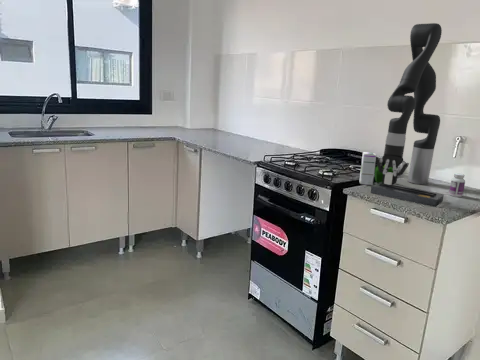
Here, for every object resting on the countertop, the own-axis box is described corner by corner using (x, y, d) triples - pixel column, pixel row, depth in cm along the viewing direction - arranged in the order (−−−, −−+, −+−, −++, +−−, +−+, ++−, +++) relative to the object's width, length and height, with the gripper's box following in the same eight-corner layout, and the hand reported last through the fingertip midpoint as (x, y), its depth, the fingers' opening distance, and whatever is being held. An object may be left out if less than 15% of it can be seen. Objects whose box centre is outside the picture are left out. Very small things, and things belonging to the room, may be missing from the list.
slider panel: (380, 187, 177) (381, 180, 176) (442, 201, 162) (444, 192, 161) (370, 192, 168) (371, 184, 167) (435, 207, 152) (437, 198, 152)
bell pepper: (369, 181, 189) (372, 160, 187) (382, 180, 193) (385, 160, 190) (381, 185, 182) (385, 164, 179) (395, 184, 185) (398, 163, 183)
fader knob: (386, 184, 171) (388, 172, 170) (393, 185, 169) (395, 173, 168) (383, 185, 168) (385, 173, 167) (390, 187, 166) (392, 174, 165)
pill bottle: (460, 194, 174) (465, 173, 171) (463, 197, 169) (467, 176, 166) (447, 193, 175) (451, 172, 173) (449, 196, 170) (453, 174, 168)
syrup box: (372, 185, 181) (377, 154, 177) (359, 184, 182) (363, 153, 178) (371, 182, 186) (375, 152, 183) (358, 181, 187) (362, 151, 184)
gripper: (415, 145, 163) (408, 185, 167) (381, 140, 171) (375, 178, 175) (409, 147, 157) (402, 188, 161) (375, 142, 165) (369, 181, 170)
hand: (388, 183), depth 168 cm, fingers closed on fader knob, 3 cm apart
